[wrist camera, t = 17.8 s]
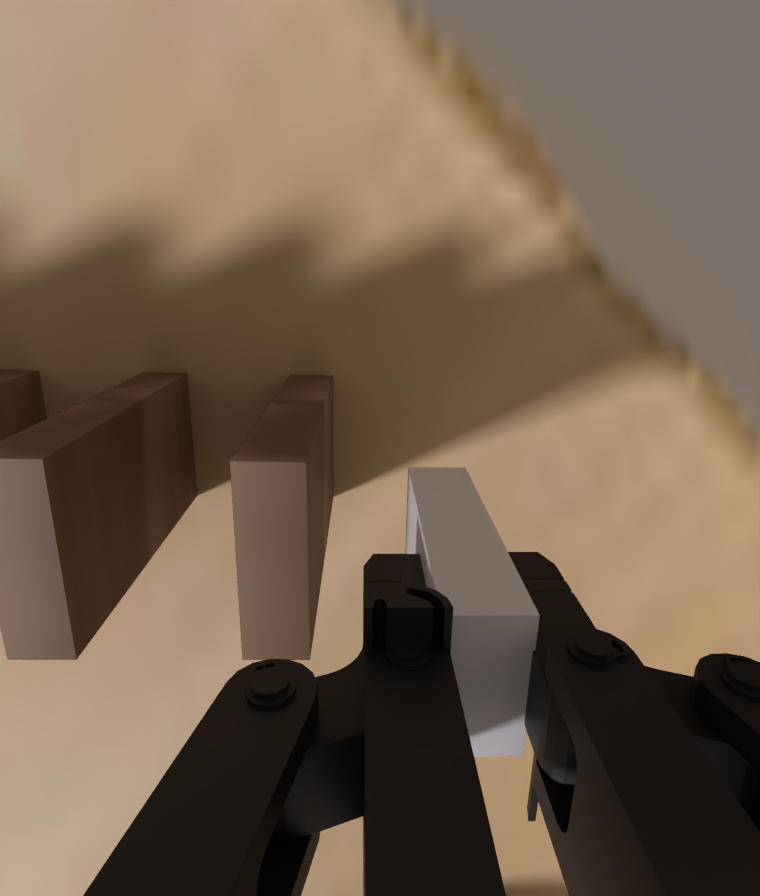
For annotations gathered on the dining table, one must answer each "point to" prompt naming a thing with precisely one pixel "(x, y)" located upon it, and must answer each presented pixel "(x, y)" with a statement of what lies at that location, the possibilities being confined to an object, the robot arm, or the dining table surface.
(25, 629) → the domino
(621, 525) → the dining table surface
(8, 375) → the domino
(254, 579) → the domino
